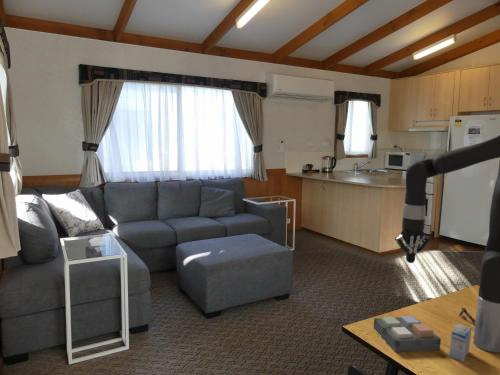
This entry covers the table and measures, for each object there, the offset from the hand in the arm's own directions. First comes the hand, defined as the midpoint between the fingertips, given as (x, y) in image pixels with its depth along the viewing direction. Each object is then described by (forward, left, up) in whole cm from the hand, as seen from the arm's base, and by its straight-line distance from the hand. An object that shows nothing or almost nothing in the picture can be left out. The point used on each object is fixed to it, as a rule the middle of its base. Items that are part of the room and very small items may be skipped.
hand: (410, 262), depth 144 cm
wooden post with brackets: (-27, -1, -25) cm, 37 cm away
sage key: (+9, +5, -22) cm, 24 cm away
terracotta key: (+1, +13, -21) cm, 25 cm away
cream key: (+9, +13, -22) cm, 27 cm away
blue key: (+1, +5, -22) cm, 23 cm away
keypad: (+5, +9, -25) cm, 27 cm away
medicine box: (-8, +20, -25) cm, 33 cm away
